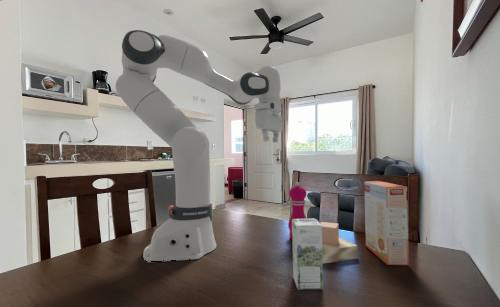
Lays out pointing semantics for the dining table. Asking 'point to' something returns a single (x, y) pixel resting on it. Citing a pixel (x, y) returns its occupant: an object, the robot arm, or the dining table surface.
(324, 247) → the birch block
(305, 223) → the syrup box
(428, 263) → the dining table surface
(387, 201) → the cracker box
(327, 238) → the terracotta cube
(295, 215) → the pepper mill
